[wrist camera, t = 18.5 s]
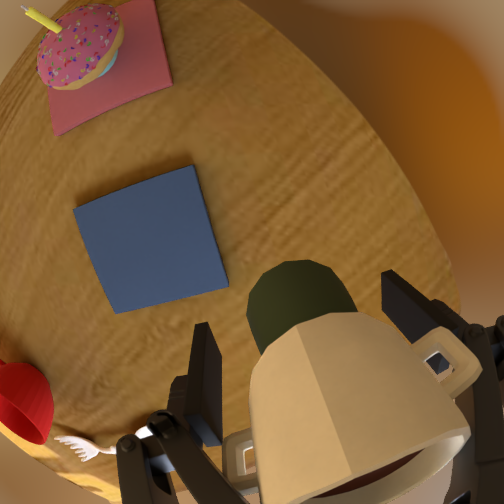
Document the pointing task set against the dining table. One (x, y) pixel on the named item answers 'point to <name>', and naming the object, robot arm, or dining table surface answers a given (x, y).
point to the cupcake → (78, 45)
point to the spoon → (92, 448)
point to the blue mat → (152, 241)
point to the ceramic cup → (25, 401)
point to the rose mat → (118, 71)
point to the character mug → (342, 397)
